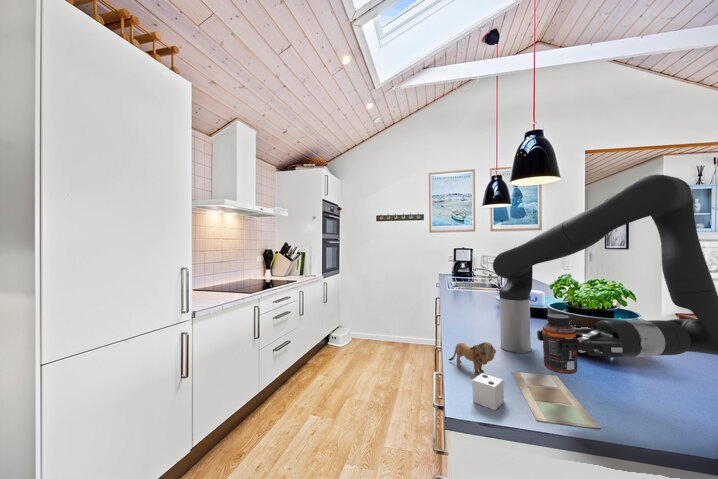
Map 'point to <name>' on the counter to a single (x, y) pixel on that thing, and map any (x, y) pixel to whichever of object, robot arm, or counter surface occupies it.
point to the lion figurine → (475, 355)
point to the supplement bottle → (552, 357)
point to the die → (488, 391)
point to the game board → (552, 400)
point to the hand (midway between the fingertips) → (547, 340)
